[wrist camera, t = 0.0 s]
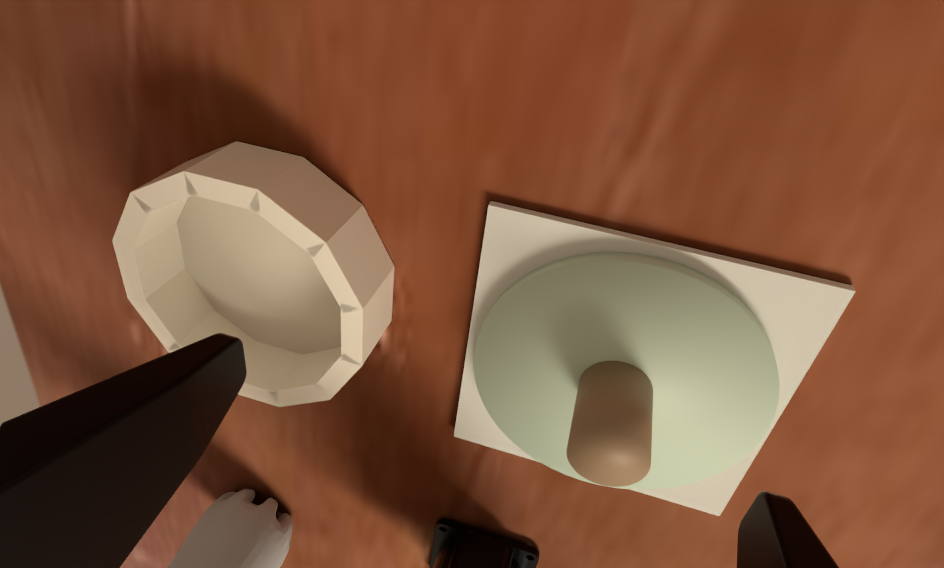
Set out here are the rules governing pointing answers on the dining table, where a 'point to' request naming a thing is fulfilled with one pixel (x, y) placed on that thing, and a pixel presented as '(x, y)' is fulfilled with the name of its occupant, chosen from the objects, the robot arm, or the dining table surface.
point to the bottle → (237, 535)
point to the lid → (627, 371)
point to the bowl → (259, 268)
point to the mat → (758, 286)
